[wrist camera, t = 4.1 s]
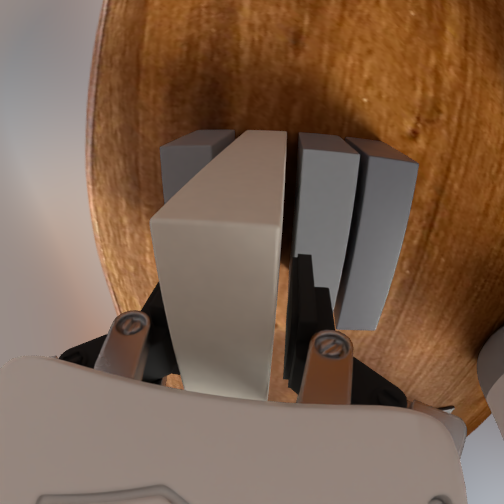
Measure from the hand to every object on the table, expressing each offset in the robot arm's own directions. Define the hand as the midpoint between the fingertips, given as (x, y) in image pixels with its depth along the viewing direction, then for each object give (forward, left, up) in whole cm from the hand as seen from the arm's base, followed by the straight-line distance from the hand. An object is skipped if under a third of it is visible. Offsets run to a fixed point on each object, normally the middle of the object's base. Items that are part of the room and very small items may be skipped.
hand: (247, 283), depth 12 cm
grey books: (0, +1, -9) cm, 9 cm away
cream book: (0, 0, -9) cm, 9 cm away
